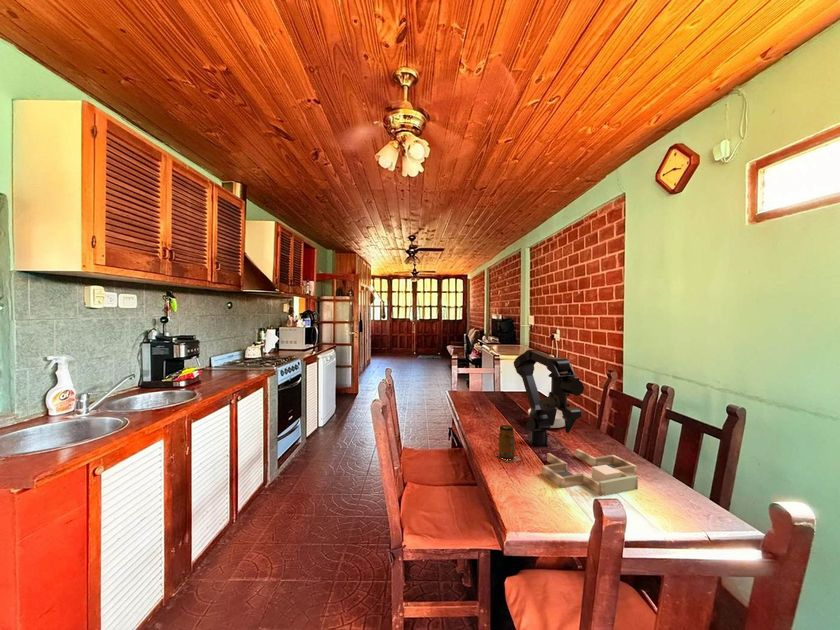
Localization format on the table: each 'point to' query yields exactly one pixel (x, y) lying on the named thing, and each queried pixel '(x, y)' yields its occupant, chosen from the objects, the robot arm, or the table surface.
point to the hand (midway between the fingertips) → (559, 429)
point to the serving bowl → (556, 419)
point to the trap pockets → (567, 479)
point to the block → (604, 473)
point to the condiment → (507, 443)
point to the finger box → (604, 486)
